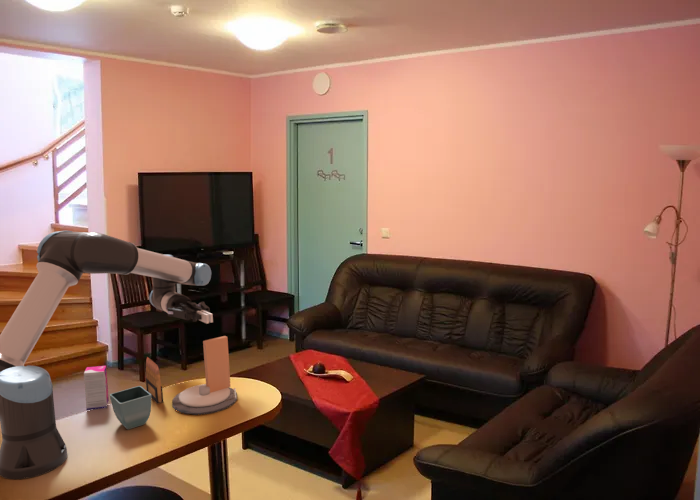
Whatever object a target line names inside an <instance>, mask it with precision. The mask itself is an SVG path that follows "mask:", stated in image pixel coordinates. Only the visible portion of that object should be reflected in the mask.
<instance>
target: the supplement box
mask: <svg viewBox="0 0 700 500" xmlns="http://www.w3.org/2000/svg"><path fill="white" fill-rule="evenodd" d="M83 383H84V394H85V395H84V396H85V408H86V409H85V410H86V411H93V410H100V409H107V407H108V403H109V398H110V396H109V387H108V385H109V384H108V373H107V365H98V366H87V367H86V368H85V370H84V372H83Z"/></svg>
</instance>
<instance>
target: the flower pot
mask: <svg viewBox="0 0 700 500" xmlns="http://www.w3.org/2000/svg"><path fill="white" fill-rule="evenodd" d="M109 398H110V402H111V403H110V404H111V406H112V411H113V413H114V415H115V418H116V419H117V421H119V423H120V424H121V425H122V427H124V428H125V429H126V430H131V429H134V428H137V427H141V426H143V425H146V423H147V421H148V420H149V418H150V416H151V411H152V398H151V394H150V393H149V392H148V391H147V389H145V388H144V387H143V386H141V385H137V386H133V387H130V388H126V389H124V390H120V391H116V392H112V393H109Z"/></svg>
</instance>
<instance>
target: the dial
mask: <svg viewBox="0 0 700 500" xmlns="http://www.w3.org/2000/svg"><path fill="white" fill-rule="evenodd" d="M228 339H229V338H228V336H226V335H223V336H218V337H214V338H209V339H205V340H203V341H202V344H203V345H202V347H203V359H204V361H203V362H204V374H205V376H204V377H205V384H204V383H203V384H198V385H194V386H193V385H192V386H191V387H187V388H186V389H184V390H182V391H181V392H179V393H180V394H179V393H178V394H179V401H180V403H181V404H183V405H185V406H190V407H206V406H211V405H215V404H218V403H221V402H223V401H225V400H226V399H228V398H229V396H230V389H229V388H228V387H230V388H231V373H230V370H231V369H230V358H229V357H230V356H229V355H230V354H229V341H228Z"/></svg>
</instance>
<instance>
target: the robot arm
mask: <svg viewBox="0 0 700 500" xmlns="http://www.w3.org/2000/svg"><path fill="white" fill-rule="evenodd" d="M36 249H37V250H36V253H37V256H36V258H37V263H36V265H35V266H36V269H37V271H38V272H37V275H35V278H34V279H33V281H31V282H32V283H31V284H30V285H29V287H28V289H27V291H26V292H25V294H24V295H23V296H22V299H21V300H20V302H19V304H18V305H17V307H16V309H15V310H14V312H13V313H12V315H11V316H10V318H9V320H8V321H7V323H6V325H5V326H4V328H3V330H2V331H1V333H0V431H1V437H2V440H1V445H0V477H2V478H4V479H8V480H21V479H22V480H23V479H30V478H34V477H38V476H41V475H44V474H47V473H49V472H51V471H53V470H55V469H57V468H59V467H60V466H61V465H63V464H64V462H65V461H66V460H67V458H68V449H67V448H68V447H67V445H66V443H65V441H64V439H63V437H62V435H61V434H60V432H59V429H58V428H57V424H56V423H57V422H56V413H55V411H56V410H55V403H54V402H55V401H54V391H53V388H54V387H53V383H52V379H51V376H50V373H49V372H48V371H47V370H46V369H45V368H43V367H41V366H38V365H37V366H36V365H29V364H28V365H26V366H25V364H26V362H27V360H28V358H29V356H30V355H31V353H32V351H33V349H34V348H35V345H37V342H38V341H39V339H40V337H41V336H42V334H43V332H44V330H45V329H46V327H47V326H48V323H49V322H50V320H51V318H52V317H53V315H54V313H55V311H56V310H57V308H58V306H59V305H60V302H61V301H62V300H63V298H64V296H65V294H66V292H67V291H68V289H69V288H70V287H73V286H76V285H77V284H78V283H79V281H80V279H81V278H82V277H83V274H87V275H88V274H91V275H93V274H98V275H99V274H112V275H113V274H116V275H122V276H125V275H129V274H134V275H141V276H144V277H145V276H146V277H151V281H152V282H151V283H152V290H151V292H150V293H149V298H148V300H149V303H150V304H151V305H152V306H153V307H154V308H155V309H157V310H159V311H163V312H164V313H167V317H172V318H177V319H181V320H185V321H190V320H192V322H193V323H194V322H195V323H196V322H197V321H200V322H202V323H204V324H206V325H207V324H210V323H214V317H213V315H214V314H213V313H211V310H210V309H211V308H210V307H209V306H208V305H206V303H205V301H200V302H198V304H197V303H196V302H192V300H191V299H190V298H189V296H187V295H184V294H182V293H179V292H176V284H178V285H188V286H196V287H197V286H206V285H208V284H209V282H210V281H211V278H212V270H211V267H210V265H208V264H207V263H202V262H193V261H190V260H186V259H183V258H182V259H181V258H178V257H174V255H172V254H163V253H159V252H154V251H151V250H147V249H144V248H139V247H137V246H136V244H135V243H133V242H131V241H127V240H124V239H120V238H117V237H115V236H111V235H107V234H105V233H101V232H94V231H72V230H60V231H53V232H51V233H49V234H47V235H45V236H44V237H43V238H42V239H41V241H40V242H39V244H38V246H37V248H36Z"/></svg>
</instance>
